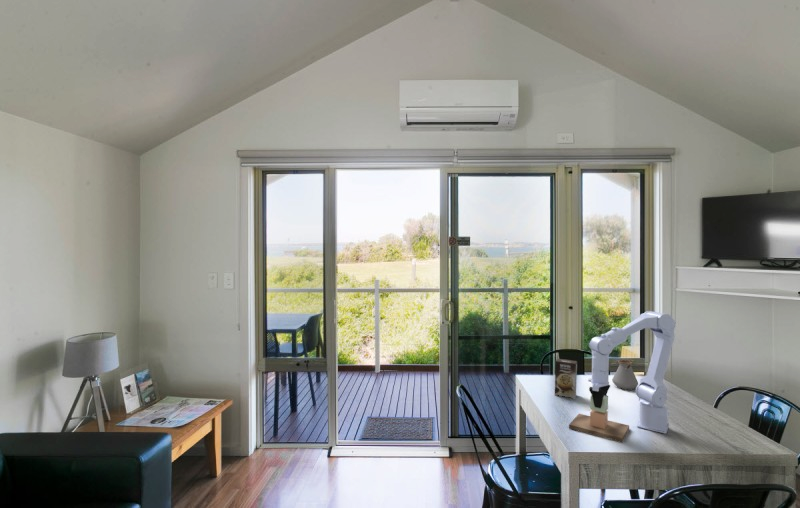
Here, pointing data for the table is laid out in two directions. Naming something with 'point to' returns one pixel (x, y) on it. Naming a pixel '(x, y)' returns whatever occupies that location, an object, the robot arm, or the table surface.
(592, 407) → the sage block
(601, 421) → the terracotta block
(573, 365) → the coffee box
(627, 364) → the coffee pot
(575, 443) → the table surface
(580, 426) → the walnut base
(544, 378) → the table surface
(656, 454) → the table surface
